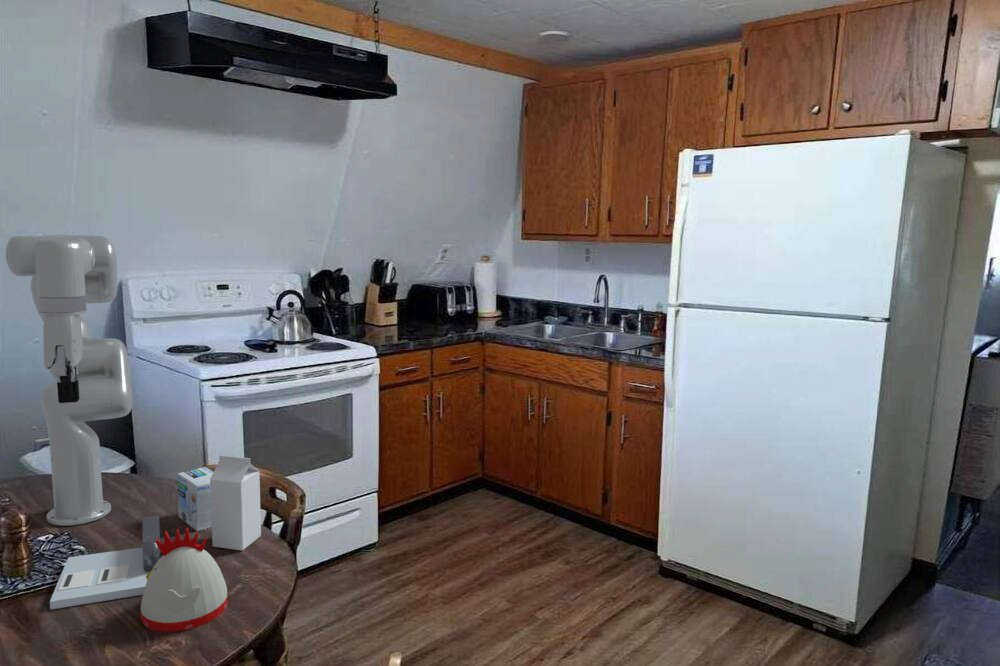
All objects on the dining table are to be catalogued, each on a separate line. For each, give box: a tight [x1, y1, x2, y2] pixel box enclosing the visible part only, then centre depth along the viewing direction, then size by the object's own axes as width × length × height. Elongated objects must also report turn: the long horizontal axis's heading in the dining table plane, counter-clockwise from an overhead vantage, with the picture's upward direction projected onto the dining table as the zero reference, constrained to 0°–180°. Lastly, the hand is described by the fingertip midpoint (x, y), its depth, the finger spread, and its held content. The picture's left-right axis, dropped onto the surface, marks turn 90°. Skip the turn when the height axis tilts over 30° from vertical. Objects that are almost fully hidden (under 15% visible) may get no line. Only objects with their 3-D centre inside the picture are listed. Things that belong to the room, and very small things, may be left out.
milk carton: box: [210, 454, 262, 551], centre depth 143 cm, size 7×7×19 cm
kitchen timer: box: [140, 527, 228, 633], centre depth 118 cm, size 14×14×15 cm
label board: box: [49, 546, 149, 610], centre depth 128 cm, size 17×15×2 cm
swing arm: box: [141, 514, 162, 572], centre depth 135 cm, size 3×16×5 cm, turn 27°
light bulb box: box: [176, 466, 214, 532], centre depth 154 cm, size 11×7×11 cm, turn 47°
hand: (69, 401), depth 129 cm, fingers closed
